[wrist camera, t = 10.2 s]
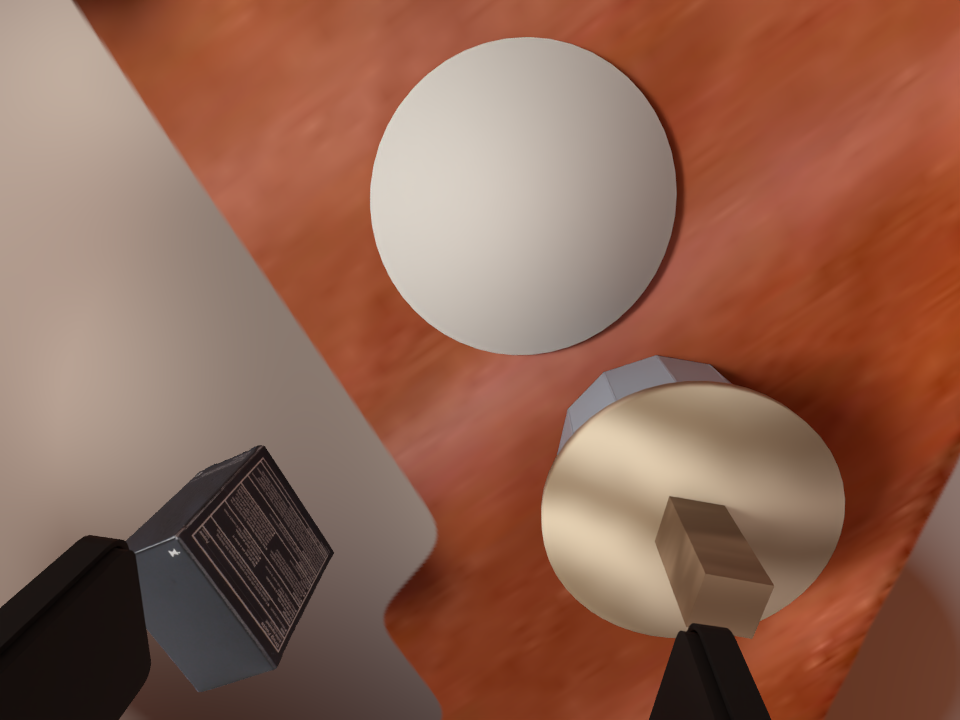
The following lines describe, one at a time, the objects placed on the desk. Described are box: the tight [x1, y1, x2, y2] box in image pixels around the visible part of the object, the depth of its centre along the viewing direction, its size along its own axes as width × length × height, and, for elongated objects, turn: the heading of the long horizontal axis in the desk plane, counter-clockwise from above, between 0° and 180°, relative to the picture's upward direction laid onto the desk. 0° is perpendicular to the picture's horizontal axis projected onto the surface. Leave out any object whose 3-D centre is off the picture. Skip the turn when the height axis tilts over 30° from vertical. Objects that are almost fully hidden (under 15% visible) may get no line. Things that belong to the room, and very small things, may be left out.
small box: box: [125, 445, 334, 692], centre depth 36 cm, size 11×6×10 cm, turn 26°
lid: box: [541, 381, 845, 639], centre depth 27 cm, size 16×16×7 cm
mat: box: [370, 37, 677, 355], centre depth 32 cm, size 18×18×1 cm
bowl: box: [557, 355, 732, 455], centre depth 34 cm, size 13×13×7 cm
